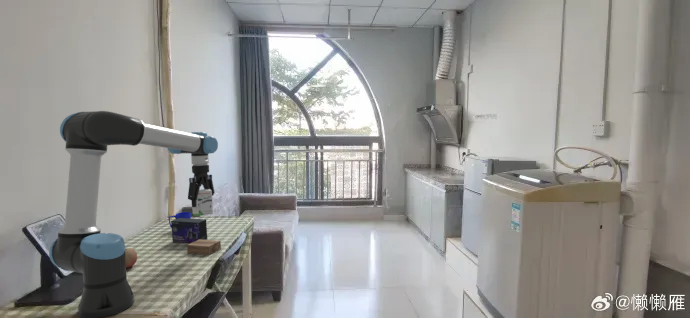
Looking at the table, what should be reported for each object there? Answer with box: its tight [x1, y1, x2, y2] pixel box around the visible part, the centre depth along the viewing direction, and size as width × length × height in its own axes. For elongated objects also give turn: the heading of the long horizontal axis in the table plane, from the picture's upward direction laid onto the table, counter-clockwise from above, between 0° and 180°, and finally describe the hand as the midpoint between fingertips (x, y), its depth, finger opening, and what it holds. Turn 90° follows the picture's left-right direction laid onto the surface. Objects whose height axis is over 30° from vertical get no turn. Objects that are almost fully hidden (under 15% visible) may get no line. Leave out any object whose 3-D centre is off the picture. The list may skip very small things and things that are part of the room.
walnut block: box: [186, 239, 222, 256], centre depth 171 cm, size 9×12×4 cm
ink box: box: [191, 188, 214, 217], centre depth 169 cm, size 9×5×12 cm, turn 123°
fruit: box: [125, 247, 138, 269], centre depth 151 cm, size 8×8×8 cm
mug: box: [168, 211, 192, 229], centre depth 209 cm, size 8×12×10 cm
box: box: [170, 218, 208, 245], centre depth 186 cm, size 17×7×12 cm, turn 76°
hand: (202, 211), depth 170 cm, fingers closed on ink box, 9 cm apart
